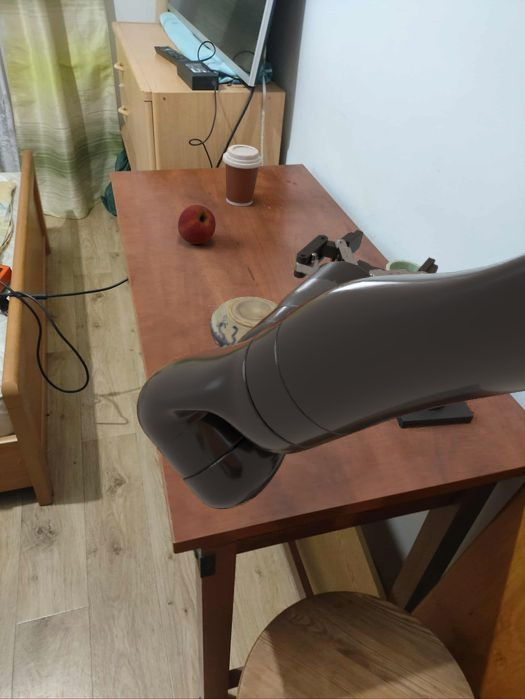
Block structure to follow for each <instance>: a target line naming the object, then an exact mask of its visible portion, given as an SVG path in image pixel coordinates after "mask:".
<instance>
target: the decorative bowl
mask: <svg viewBox="0 0 525 699" xmlns="http://www.w3.org/2000/svg"><path fill="white" fill-rule="evenodd" d="M278 304H279V303H276V302H275V301H272V300H270V299H267V298H264V297H260V296H253V295H251V296H248V295H247V296H238V297H233V298H231V299H228V300H226V301H224V302H223V303H221V304H220V305H219V306H217V308H216V309H214V310H213V312H212V313H211V317H210V322H209V324H210V325H209V326H210V330H211V333H212V335H213V339H214V342H215V344H216V345H218V346H219V347H226V346H230V345H234V344H236V343H237V342H238V341H239V339H240V338H241V337H242V336H243V335H244V334H245V333H246V332H248V331H249V330H250V329H251V328H253V327H254V326H255V325H256V324H257V323H259V322H260V321H261V320H262V319H263V318H265V317H266V316H267V315H268V314H269V313H271V312H272V311H273V310H274V309H275V308H276V306H277V305H278Z"/></svg>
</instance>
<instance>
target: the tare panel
mask: <svg viewBox="0 0 525 699" xmlns="http://www.w3.org/2000/svg"><path fill="white" fill-rule="evenodd" d="M474 417H475V416H474V413H473V412H472V411H471V409H470V408H469V406H468V404H467V403H466V401H463V402H459V403H454V404H449V405H445V406H440V407H435V408H432V409H428V410H424V411H420V412H416V413H413V414H409V415H406V416H402V417H399V418H396V420H397V423H398V425H399V426H400V428H413V427H414V428H415V427H426V426H427V427H428V426H441V425H453V424H455V425H456V424H468V423H471V422H472V420H473V419H474Z"/></svg>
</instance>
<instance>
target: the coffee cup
mask: <svg viewBox="0 0 525 699" xmlns="http://www.w3.org/2000/svg"><path fill="white" fill-rule="evenodd" d="M222 155H223V156H222V161H223V162H224V164H225V200H226V203H228V204H230V205H232V206H237V207H247V206H250V205H251V204H253V201H254V195H255V190H256V184H257V178H258V175H259V174H258V173H259V168H260V167H261V166H262V165H263V157H262V156H261V155H260V154H259V150H258V149H257V148H256V147H253V146H251V145H247V144H233V145H230V146H229V147H227V151H226V152H224V153H223V154H222Z"/></svg>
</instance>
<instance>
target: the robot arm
mask: <svg viewBox="0 0 525 699" xmlns="http://www.w3.org/2000/svg"><path fill="white" fill-rule="evenodd" d="M363 236H364V231H362V230H359V229H356V230H354V232H353V231H350V232H347V233H346V234H345V235H343V236H342V237H340V238H335V239H334V240H329V237H328V236H327V235H325V234H318V235H317V236H315V237H314V238H313V239H312V240H311V241H309V242H308V243H307V244H306V245H305V246H304V247H303V248H302V249H300V250H299V251H298V252H297V253H296V258H295V263H294V269H293V276H294V277H295V278H296V279H304V278H305V277H306V276H307V275H308V277H307V278H306V279H305V280H304V281H302V282H301V283H300V284H298V286H296V287H295V288H294V289H293V290H291V291H290V292H289V293H287V294H286V295H285V296H284V297H283V298H282V299H281V300H280V302H278V303H277V304H278V305H277V306H276V308H275V309H274V310H273V311H272V312H271V313H269V314H268V315H267V316H266V317H265V318H263V319H262V320H261V321H260V322H259V323H257V324H256V325H255V326H254V327H253V328H251V329H250V330H249V331H248V332H246V333H245V334H244V335H243V336H242V337H241V338H240V339H239V341H238V342H237V343H236V344H234V345H230V346H226V347H221V346H219V347H214V348H209V349H204V350H200V351H196V352H193V353H189V354H185V355H183V356H180V357H178V358H176V359H173V360H172V361H170V362H168V363H166V364H164V365H163V366H162V367H159V369H157V370H156V371H155V372H153V373H152V374H151V375H150V376H149V377H148V379H146V381H145V382H144V384H143V385H142V387H141V389H140V390H139V393H138V396H137V401H136V418H137V421H138V424H139V426H140V428H141V429H142V432H143V433H144V434H145V436H146V437H147V438H148V440H149V441H150V442H151V443H152V444H153V446H154V447H156V449H157V450H158V452H159V453H160V454H161V456H163V458H164V459H165V460H166V462H168V464H169V465H170V467H172V469H173V470H174V471H175V472H176V474H177V475H178V476H179V477H180V478H181V479H182V481H183V483H184V484H185V485H186V487H187V488H188V489H189V491H190V492H192V494H193V495H194V496H195V497H196V498H197V499H198V500H199V501H200V502H201V503H202V504H203V505H205V506H206V507H208V508H211V509H215V510H230V509H234V508H238V507H240V506H243V505H244V504H247V503H249V502H251V501H252V500H253V499H255V498H256V497H258V496H259V495H260V494H261V493H262V492H263V491H264V490H265V488H266V487H267V486H268V485H269V484H270V483H271V482H272V480H273V479H274V477H275V476H276V475H277V473H278V471H279V469H280V468H281V466H282V464H283V461H284V460H285V457H286V455H293V454H294V455H295V454H299V453H302V452H305V451H308V450H312V449H314V448H317V447H319V446H322V445H325V444H328V443H330V442H334V441H336V440H339V439H342V438H345V437H347V436H350V435H353V434H356V433H359V432H361V431H365V430H366V429H367V430H368V429H370V428H372V427H375V426H378V425H380V424H384V423H386V422H389V421H392V420H397V418H399V417H402V416H406V415H409V414H413V413H416V412H420V411H424V410H428V409H432V408H435V407H440V406H445V405H449V404H454V403H459V402H463V401H465V402H469V401H473V400H478V399H486V398H491V397H499V396H505V395H509V394H510V395H511V394H515V393H521V392H525V252H524V253H521V254H518V255H516V256H512V257H510V258H508V259H505V260H501V261H498V262H494V263H492V264H489V265H484V266H483V265H482V266H478V267H473V268H468V269H463V270H462V269H461V270H456V271H448V272H447V271H446V272H438V270H439V265H438V264H435V263H436V259H435V258H433V257H430V256H428V258H427V259H426V260H425V261H424V262H423V263H422V264H421V265H420V266H421V267H420V268H419V269H418V271H416V272H407V271H406V270H405V269H396V270H385V268H384V269H383V268H382V267H378V266H373V265H371V264H370V263H368V262H366V261H364V260H361V259H358V260H357V259H356V258H355V256H354V254H355V253H356V252H357V251H358V250H359V249H360V247H361V245H362V240H363ZM325 258H328V259H329V261H330V262H325V263H322V264H321V265H319V264H320V263H321V262H322V261H323V260H324V259H325Z"/></svg>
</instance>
